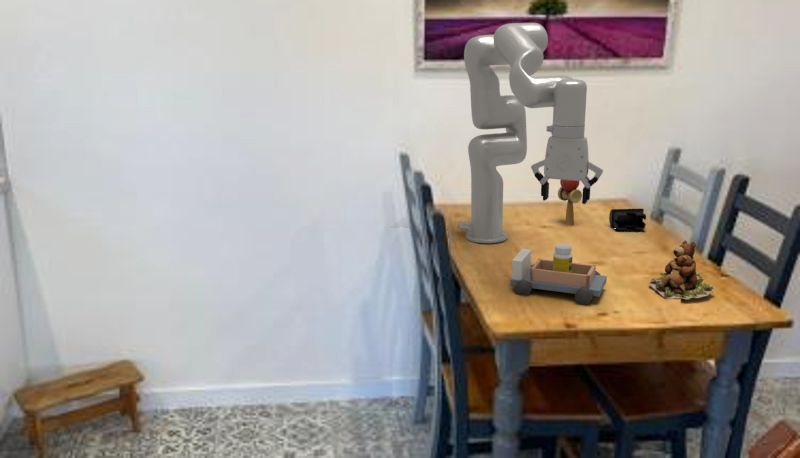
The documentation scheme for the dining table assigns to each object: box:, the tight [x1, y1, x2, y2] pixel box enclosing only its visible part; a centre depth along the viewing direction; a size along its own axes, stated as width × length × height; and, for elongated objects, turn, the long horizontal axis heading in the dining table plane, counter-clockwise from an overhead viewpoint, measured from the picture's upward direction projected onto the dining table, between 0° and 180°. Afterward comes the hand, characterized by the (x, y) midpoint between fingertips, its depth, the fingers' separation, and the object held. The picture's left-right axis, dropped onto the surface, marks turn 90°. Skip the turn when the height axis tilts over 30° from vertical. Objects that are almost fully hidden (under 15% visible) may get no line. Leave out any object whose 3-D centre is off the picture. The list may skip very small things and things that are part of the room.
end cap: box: [608, 208, 647, 233], centre depth 244 cm, size 10×7×7 cm
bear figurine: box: [648, 240, 715, 301], centre depth 193 cm, size 14×15×12 cm
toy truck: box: [509, 248, 608, 306], centre depth 194 cm, size 22×14×8 cm, turn 67°
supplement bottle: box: [552, 243, 573, 273], centre depth 193 cm, size 5×5×8 cm
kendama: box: [557, 179, 583, 227], centre depth 247 cm, size 8×6×18 cm
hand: (564, 200), depth 190 cm, fingers open, 9 cm apart
